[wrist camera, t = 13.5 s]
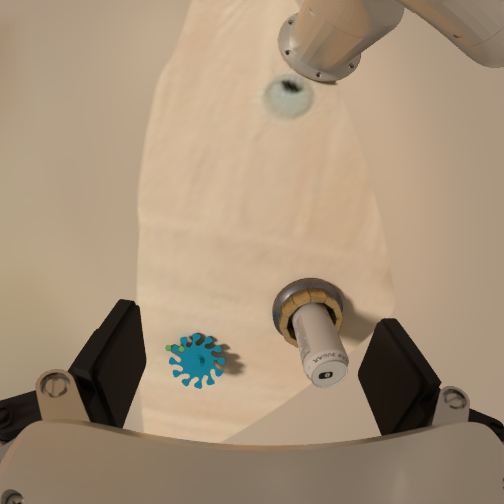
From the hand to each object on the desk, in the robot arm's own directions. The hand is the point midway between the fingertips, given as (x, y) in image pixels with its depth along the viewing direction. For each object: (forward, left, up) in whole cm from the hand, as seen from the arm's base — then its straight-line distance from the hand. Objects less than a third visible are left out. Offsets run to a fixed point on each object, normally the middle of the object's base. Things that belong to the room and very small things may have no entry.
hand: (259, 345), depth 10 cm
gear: (+28, -7, -34) cm, 44 cm away
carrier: (+18, +12, -33) cm, 39 cm away
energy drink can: (+18, +12, -32) cm, 38 cm away
